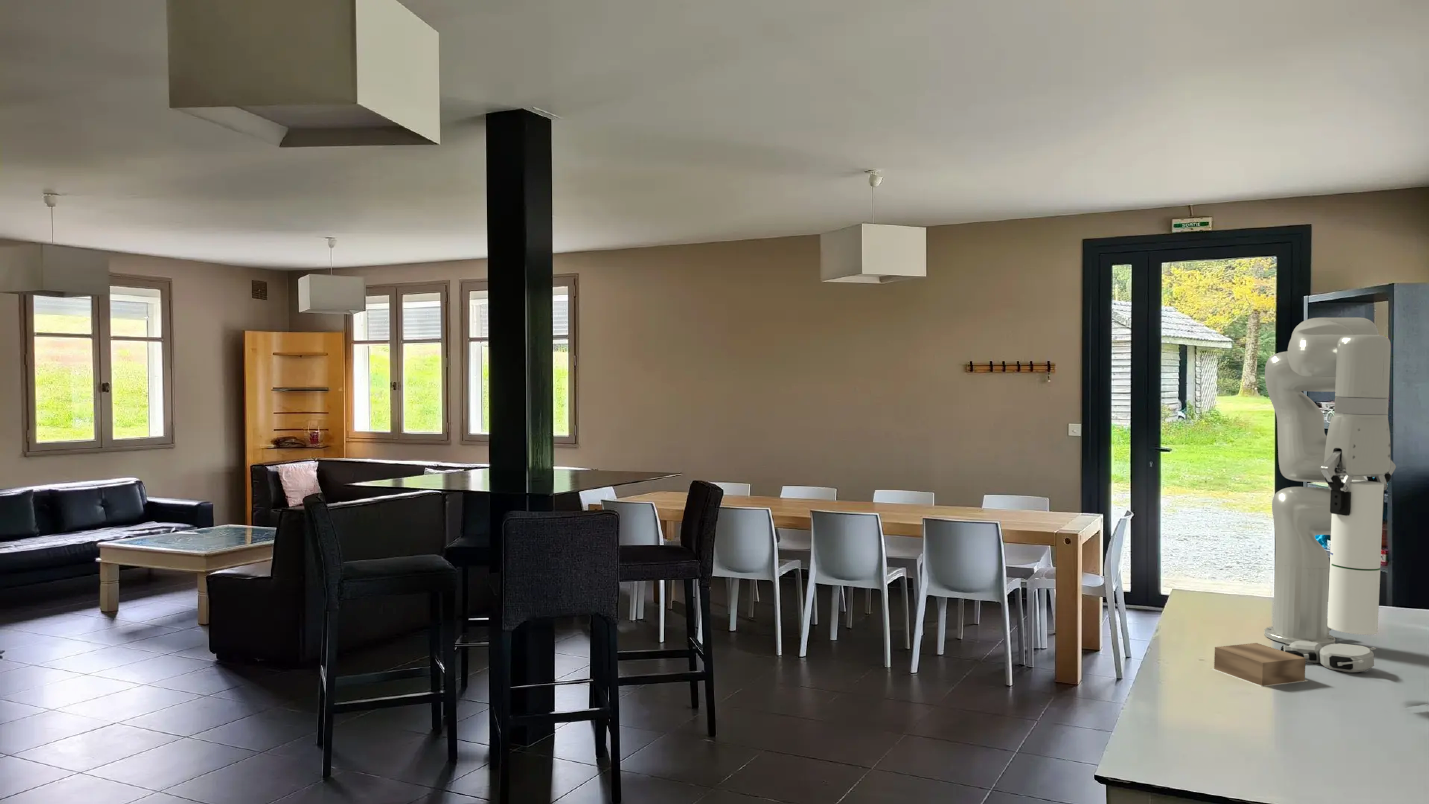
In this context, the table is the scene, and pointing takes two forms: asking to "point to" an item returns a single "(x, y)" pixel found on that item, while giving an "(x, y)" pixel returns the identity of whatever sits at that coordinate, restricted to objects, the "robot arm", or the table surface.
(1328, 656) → the robot toy
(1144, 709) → the table surface
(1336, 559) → the cylindrical container
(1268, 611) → the table surface
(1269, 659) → the plinth
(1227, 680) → the table surface
